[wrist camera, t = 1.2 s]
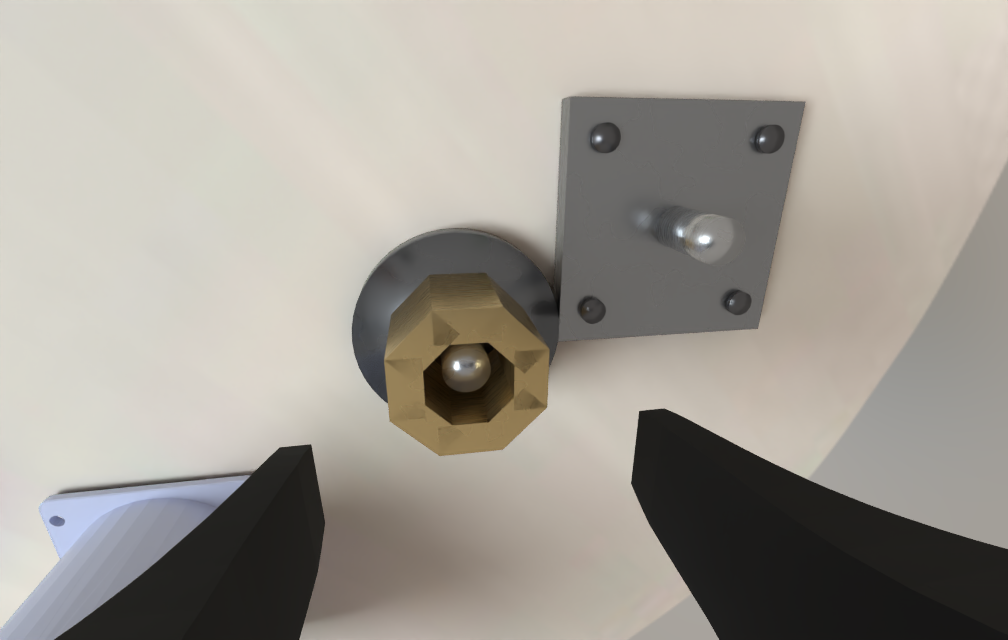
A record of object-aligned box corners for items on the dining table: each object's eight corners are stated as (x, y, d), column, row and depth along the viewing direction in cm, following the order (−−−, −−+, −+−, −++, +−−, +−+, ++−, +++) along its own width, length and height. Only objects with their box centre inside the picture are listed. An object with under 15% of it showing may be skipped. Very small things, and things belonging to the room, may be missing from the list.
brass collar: (521, 388, 19) (545, 445, 16) (398, 398, 19) (393, 460, 15) (523, 270, 18) (551, 304, 14) (387, 276, 17) (379, 313, 13)
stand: (548, 404, 21) (576, 459, 17) (365, 419, 20) (353, 482, 16) (556, 225, 18) (591, 246, 15) (344, 230, 17) (323, 255, 13)
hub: (742, 320, 21) (810, 357, 18) (551, 332, 20) (582, 375, 16) (785, 104, 18) (879, 93, 14) (562, 99, 17) (602, 86, 13)
